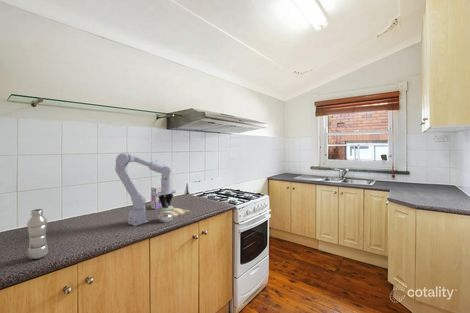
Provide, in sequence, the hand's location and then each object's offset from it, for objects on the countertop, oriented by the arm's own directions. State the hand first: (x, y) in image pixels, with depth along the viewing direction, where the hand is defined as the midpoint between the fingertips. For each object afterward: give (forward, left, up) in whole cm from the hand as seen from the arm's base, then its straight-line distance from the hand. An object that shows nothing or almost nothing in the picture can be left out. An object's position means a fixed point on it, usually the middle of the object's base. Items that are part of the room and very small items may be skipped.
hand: (165, 206), depth 143 cm
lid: (0, 0, -2) cm, 2 cm away
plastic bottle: (-62, +5, -9) cm, 63 cm away
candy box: (+18, +28, -9) cm, 35 cm away
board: (+14, +8, -9) cm, 19 cm away
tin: (0, 0, -9) cm, 9 cm away
